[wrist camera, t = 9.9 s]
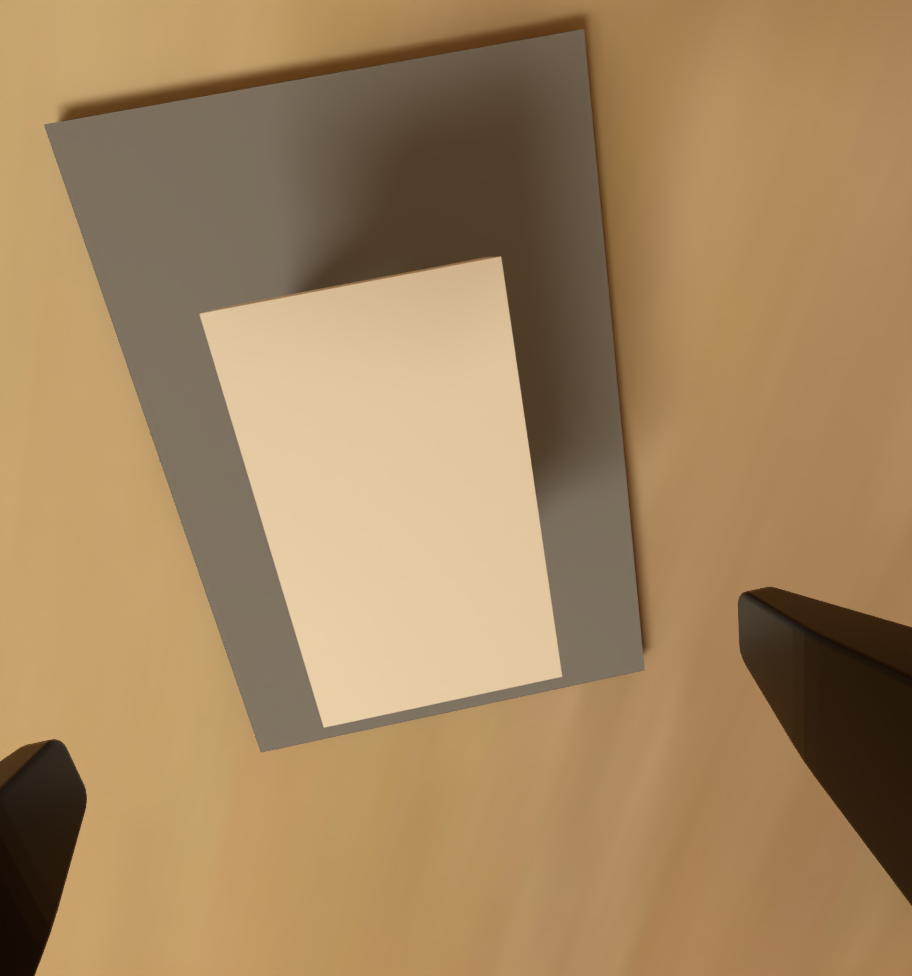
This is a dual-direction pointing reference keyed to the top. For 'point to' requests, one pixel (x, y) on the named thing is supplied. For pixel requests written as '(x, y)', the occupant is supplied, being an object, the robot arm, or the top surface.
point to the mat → (357, 257)
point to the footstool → (394, 484)
